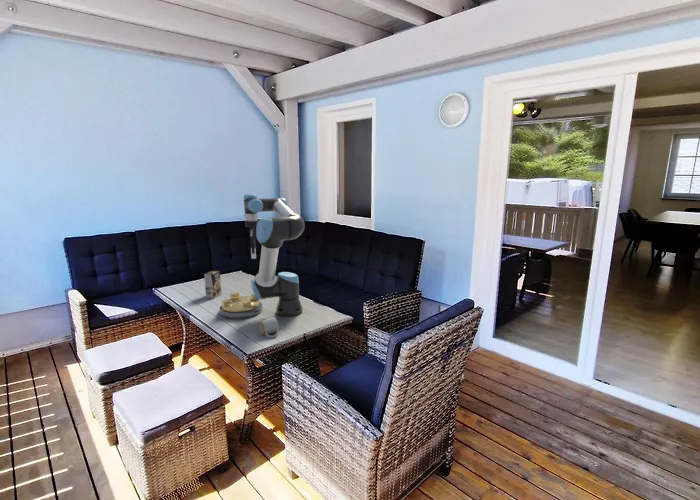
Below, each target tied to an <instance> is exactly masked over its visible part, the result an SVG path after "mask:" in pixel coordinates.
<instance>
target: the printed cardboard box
mask: <svg viewBox="0 0 700 500" xmlns="http://www.w3.org/2000/svg"><path fill="white" fill-rule="evenodd" d="M203 276H204V277H203V278H204V289H205V298H206V299H216V298H218V297H220V296H221V295H222V293H223V291H222V279H221V270H210V271H208V272H206V273H204V275H203Z"/></svg>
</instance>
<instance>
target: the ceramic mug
mask: <svg viewBox="0 0 700 500" xmlns="http://www.w3.org/2000/svg"><path fill="white" fill-rule="evenodd" d="M258 327H259V331H260V333H261V335H263V336H264V335H265V336H266V337H267V338H269V339H273V338H276V337H277V336H278V332H279V327H280V326H279V322H278V320H277V318H276V317H275V316H273V317H269V318H266V319H263V320H261V321H259V325H258ZM274 333H275V334H274ZM270 334H274V335H270Z"/></svg>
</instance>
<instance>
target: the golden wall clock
mask: <svg viewBox="0 0 700 500" xmlns="http://www.w3.org/2000/svg"><path fill="white" fill-rule="evenodd" d="M250 295H251V296H249V295H248V296H247V295H246V296H244V295H243V296H242V295H240V293H239V292H237V291H236V292H231V293H230V298H228V299H227V298H226V299H221V301H220V302H221V306H222V310H223V311H225V312H228V313H244V312H249V311H252V310H255V309H257V308H258V307H259V305H260V304H259V302H260V300H257V299H255V297H254V294H253V293H251V294H250Z"/></svg>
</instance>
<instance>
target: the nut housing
mask: <svg viewBox="0 0 700 500" xmlns="http://www.w3.org/2000/svg"><path fill="white" fill-rule="evenodd" d="M259 304H260V305H259V307H258V308H257V309H255V310H252V311H249V312H244V313H228V312H225V311H223V310H222V305H220V307H219V309H218V310H219V316H220V317H221V318H222V319H225V320H226V319H227V320H244V319H249V318H253V317H256V316H257V315H259V314H261V313H262V312H263V304H262V302H261V301H259Z"/></svg>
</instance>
